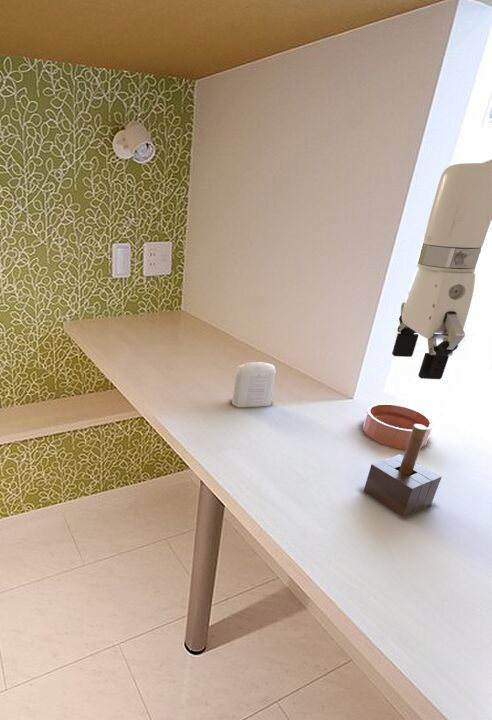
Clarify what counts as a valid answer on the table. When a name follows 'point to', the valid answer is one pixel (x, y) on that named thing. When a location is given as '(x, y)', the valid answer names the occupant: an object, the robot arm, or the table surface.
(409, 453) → the stick
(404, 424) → the bowl
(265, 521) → the table surface
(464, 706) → the table surface
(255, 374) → the photo printer
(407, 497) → the stand
